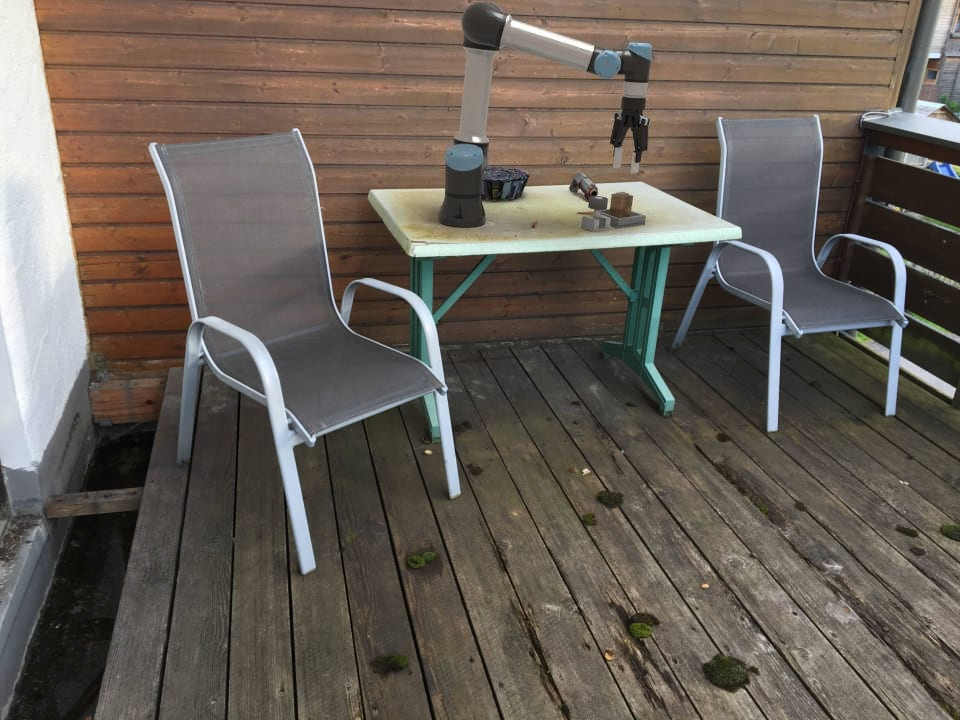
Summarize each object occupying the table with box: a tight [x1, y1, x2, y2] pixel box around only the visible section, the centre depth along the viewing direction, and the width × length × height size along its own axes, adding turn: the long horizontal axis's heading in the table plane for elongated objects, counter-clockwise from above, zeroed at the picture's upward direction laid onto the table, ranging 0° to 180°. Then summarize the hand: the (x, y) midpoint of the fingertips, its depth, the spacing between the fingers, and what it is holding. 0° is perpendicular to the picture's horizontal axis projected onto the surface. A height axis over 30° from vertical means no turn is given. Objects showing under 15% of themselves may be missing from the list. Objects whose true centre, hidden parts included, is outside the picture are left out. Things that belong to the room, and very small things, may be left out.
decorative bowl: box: [481, 166, 531, 202], centre depth 284 cm, size 26×28×10 cm
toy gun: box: [568, 171, 599, 202], centre depth 288 cm, size 4×20×10 cm, turn 16°
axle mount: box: [580, 214, 611, 233], centre depth 247 cm, size 7×6×4 cm
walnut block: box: [609, 191, 634, 218], centre depth 255 cm, size 5×5×9 cm
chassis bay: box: [600, 208, 647, 229], centre depth 256 cm, size 12×12×3 cm
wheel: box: [587, 195, 609, 218], centre depth 245 cm, size 6×6×6 cm
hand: (625, 170), depth 250 cm, fingers open, 8 cm apart
